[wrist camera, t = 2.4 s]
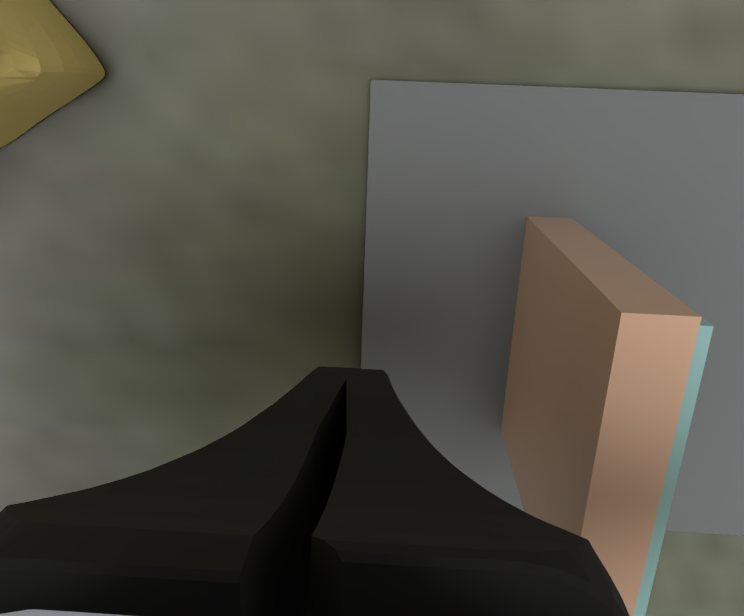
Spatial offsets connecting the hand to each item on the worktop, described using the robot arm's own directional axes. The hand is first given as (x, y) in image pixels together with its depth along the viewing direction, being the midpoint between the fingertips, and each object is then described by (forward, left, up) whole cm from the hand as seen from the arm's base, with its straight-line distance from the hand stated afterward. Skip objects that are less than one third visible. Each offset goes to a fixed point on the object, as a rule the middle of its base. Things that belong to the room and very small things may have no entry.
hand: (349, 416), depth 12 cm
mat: (0, -6, -6) cm, 9 cm away
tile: (0, -4, -5) cm, 7 cm away
